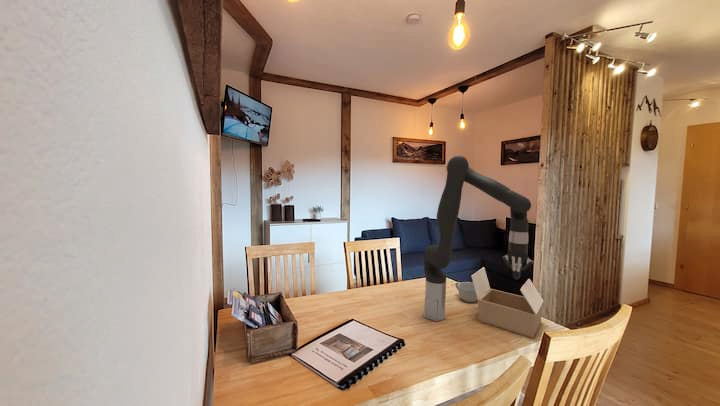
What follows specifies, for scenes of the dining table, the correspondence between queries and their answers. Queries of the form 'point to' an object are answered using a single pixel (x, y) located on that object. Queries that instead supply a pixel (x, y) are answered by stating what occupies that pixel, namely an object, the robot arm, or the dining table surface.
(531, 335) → the carton
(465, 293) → the teacup
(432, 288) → the robot arm
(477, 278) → the flap
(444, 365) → the dining table surface
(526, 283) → the flap
